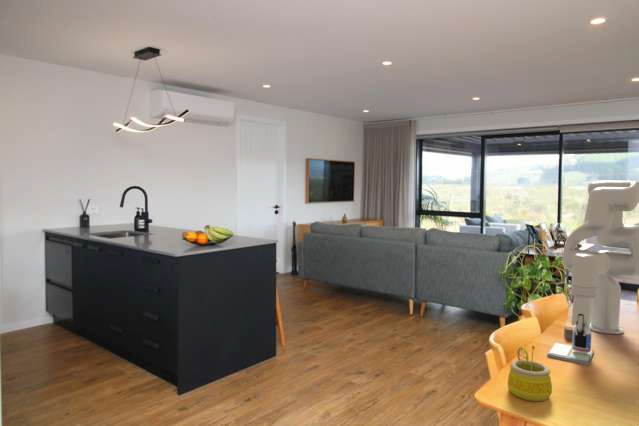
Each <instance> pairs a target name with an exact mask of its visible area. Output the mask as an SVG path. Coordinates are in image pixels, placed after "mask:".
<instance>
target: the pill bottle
mask: <svg viewBox="0 0 639 426" xmlns="http://www.w3.org/2000/svg"><path fill="white" fill-rule="evenodd" d="M576 325H577V323H576V324H575V325H574V326H573V327H574V328H573V339H572V340H571V341H572V343H571V346H572V349H573V350H574V351H576V352H580V353H590V351H591V350H592V347H591V345H592V330H590V329H589V326H588V327H587V328H586V336H587V338H586V348H581V347H576V346H575V334H576ZM582 326H585V325H582ZM582 329H583V330H584V328H582Z"/></svg>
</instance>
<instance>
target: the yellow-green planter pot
mask: <svg viewBox="0 0 639 426" xmlns="http://www.w3.org/2000/svg"><path fill="white" fill-rule="evenodd" d="M531 349H532V350H531V352H532V353H531V360H529V354H528V351H527V350H526V348H525V347H523V346H519V347H518V349H517V353H516V354H517V356H516V357H517V360H515V361H513V362H511V363H510V366H509V367H510V370H509V374H508V378H507V388H508V391H509V392H510V393H511V394H512V395H514V396H516V397H518V398H520V399H523V400H525V401H532V402H542V401H546V400H547V399H549V398H550V396H551V394H552V393H553V388H552V387H553V385H552V379H551V376H550V374H551V371H550V369H549V368H548V367H547V366H546V365H544V364H543V363H540V362H537V361H534V360H533V359H534V350H535V349H536V347H535V345H532V346H531Z"/></svg>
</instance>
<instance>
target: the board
mask: <svg viewBox="0 0 639 426" xmlns="http://www.w3.org/2000/svg"><path fill="white" fill-rule="evenodd" d="M594 354H595V352H594V349H591V351H590V353H580V352H576V351H574V350H573V349H572V345H570V344H566V343H565V344H564V343H560V342H559V343H558V342H554V343H553V345H552V346H551V348H550V349H549V351H548V352H547V354H546V355H547V356H546V357H547V358H552V359H556V360H561V361H566V362H571V363H576V364H580V365H585V366H590V363H591V361H592V359H593V355H594Z"/></svg>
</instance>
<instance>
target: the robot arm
mask: <svg viewBox="0 0 639 426" xmlns="http://www.w3.org/2000/svg"><path fill="white" fill-rule="evenodd" d="M587 194H588V199H587V204H586V209H585V214H584V219H583V223H581V225H580V226H578V227H576V228H575V229H574V230H573V231H572V232H571V233H570V234H569V235H568V236H567V238H566V240H565V243H564V247H563V250H562V251H563V252H562V257H561V258H562V259H561V263H562V266H563V268H564V269H566V270H568V271H571V285H570V294H571V296H573V301H572V303H573V304H572V309H571V310H572V312H571V313H572V314H571V326H575V327H576V334H575V346H576V347H581V348H586V338H587V336H586V328H587V327H588V326H589V329H590V330H591V331H593V332H597V333H602V334H606V335H607V334H608V335H621V334H623V333H624V328H623V327H621V326H620V317H621V316H620V311H621V295H622V294H621V293H622V291H621V290H622V287H621V285H620V282H619V281H618V280H617V279H616V278H615V277H624V278H631V279H638V278H639V225H637V224H624V222H623V217H624V216H623V215H624V212H632V211H634V210H635V209H636V207H637V206H638V205H639V181H637V180H596V181H595V180H594V181H592V182H590V183H589V184H588V186H587ZM595 236H596V243H597V244H598V246H601V247H603V248H607V249H608V248H610V249H621V250H629V252H626V251H625V252H623V251H617V250H616V251H615V250H598V251H596V250H595V251H594V250H585V249H576V246H577V245H578V244H579V243H580V242H583V241H584V240H587V239H589V238H593V237H595ZM576 323H577V325H575V324H576ZM582 325H585V326H582ZM582 328H584V330H583V329H582Z"/></svg>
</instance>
